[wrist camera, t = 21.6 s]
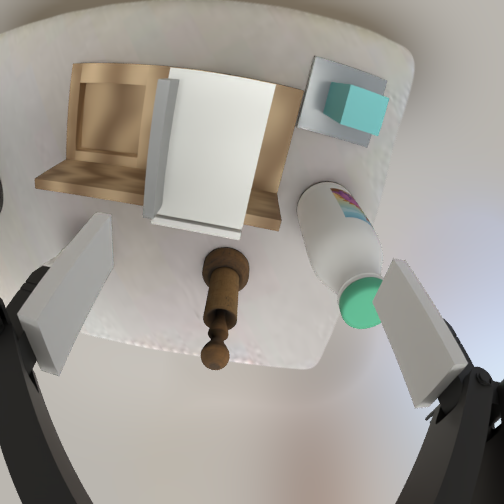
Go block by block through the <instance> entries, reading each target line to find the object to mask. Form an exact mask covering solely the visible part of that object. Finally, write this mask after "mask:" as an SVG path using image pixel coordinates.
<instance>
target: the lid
mask: <svg viewBox="0 0 504 504" xmlns="http://www.w3.org/2000/svg"><path fill="white" fill-rule="evenodd" d="M275 87H276V84H271V83H267V82H262V81H257V80H252V79H247V78H242V77H237V76H231V75H225V74H219V73H212V72H205V71H198V70H190V69H182V68H172V67H170V72H169V77H168V78H166V79H158V83H157V89H156V95H155V102H154V109H153V116H152V123H151V131H150V139H149V148H148V157H147V167H146V178H145V191H144V205H143V217H144V218H150V219H151V224H155V225H161V226H166V227H171V228H177V229H182V230H187V231H193V232H198V233H203V234H209V235H214V236H219V237H225V238H230V239H235V240H240V236H241V230H242V227H243V223H244V219H245V214H246V210H247V205H248V201H249V197H250V192H251V188H252V184H253V179H254V175H255V171H256V167H257V162H258V158H259V154H260V149H261V145H262V141H263V137H264V133H265V128H266V124H267V120H268V116H269V112H270V108H271V103H272V99H273V95H274V91H275Z"/></svg>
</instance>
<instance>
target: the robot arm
mask: <svg viewBox="0 0 504 504" xmlns="http://www.w3.org/2000/svg"><path fill="white" fill-rule="evenodd" d="M1 208H2V187H1V182H0V212H1ZM113 267H114V260H113V243H112V217H111V214H106V213H98V212H96V213H95V214H94V215H93V216H92V217H91V219H90V220H89V221H88V222H87V223H86V224H85V225H84V227H83V228H82V229H81V230H80V231H79V232H78V234H77V235H76V236H75V237H74V238H73V240H72V241H71V242H70V243H69V245H68V246H67V247H66V248H65V249H64V251H63V252H62V253H61V254H60V256H59V257H58V258H57V260H56V261H55V262H54V263H53V265H52V266H51V267H47V266H41V267H40V268H38V269H37V270H35V271H34V272H32V274H31V275H30V276H29V278H28V279H27V280H26V283H24V284H23V285H22V287H21V288H20V290H19V291H18V292H17V293H16V295H15V296H14V298H13V299H12V300H11V302H10V303H9V304H8V306H7V307H6V308H5V305H4V303H3V300H2V299H1V298H0V446H1V449H2V453H3V455H4V459H5V461H6V464H7V466H8V470H9V473H10V475H11V478H12V480H13V483H14V485H15V488H16V490H17V493H18V495H19V497H20V499H21V502H22V504H93V503H92V501H91V499H90V497H89V496H88V494H87V492H86V491H85V489H84V487H83V485H82V484H81V482H80V480H79V478H78V476H77V474H76V472H75V470H74V468H73V467H72V464H71V462H70V460H69V458H68V456H67V454H66V452H65V450H64V448H63V446H62V444H61V441H60V439H59V437H58V435H57V432H56V430H55V427H54V425H53V423H52V420H51V418H50V415H49V413H48V410H47V407H46V405H45V402H44V399H43V396H42V394H41V391H40V388H39V385H38V382H37V379H36V375H35V373H34V371H33V367H34V365H35V363H36V361H37V362H38V364H39V367H40V369H41V370H42V371H45V372H48V373H50V374H54V375H57V376H59V375H60V373H61V371H62V369H63V366H64V364H65V362H66V360H67V357H68V355H69V353H70V351H71V348H72V346H73V344H74V342H75V340H76V338H77V336H78V334H79V332H80V330H81V328H82V326H83V324H84V321H85V319H86V317H87V315H88V313H89V312H90V310H91V308H92V306H93V304H94V302H95V300H96V298H97V296H98V294H99V292H100V290H101V289H102V287H103V285H104V283H105V281H106V279H107V277H108V276H109V274H110V272H111V270H112V268H113ZM372 303H373V305H374V307H375V309H376V312H377V314H378V316H379V318H380V321H381V323H382V325H383V328H384V330H385V332H386V334H387V337H388V339H389V342H390V344H391V346H392V349H393V351H394V354H395V356H396V359H397V361H398V364H399V366H400V369H401V372H402V374H403V377H404V379H405V382H406V385H407V387H408V390H409V393H410V395H411V398H412V401H413V404H414V406H415V408H422V407H429V406H430V405H431V404H432V403H433V402H434V401H435V400H436V399H437V398H438V400H439V402H440V404H439V405H438V406H437V407H436V408H435V409H434V410H433V411H432V412H431V413H430V414H429V415H428V416H427V417H426V419H425V420H428V419H429V418H430V417H432V416H433V418H432V420H431V421H430V426H429V429H428V432H427V434H426V437H425V439H424V442H423V445H422V447H421V450H420V452H419V454H418V457H417V459H416V462H415V464H414V466H413V468H412V471H411V473H410V475H409V477H408V479H407V481H406V484H405V486H404V488H403V490H402V492H401V494H400V496H399V498H398V500H397V502H396V504H504V380H503V381H502V382H501V383H499V382H495V381H493V380H492V378H491V376H490V375H489V373H488V372H487V371H486V370H484V369H482V368H480V367H474V365H473V364H472V362H471V360H470V358H469V356H468V354H467V353H466V351H465V349H464V347H463V345H462V344H460V340H459V339H458V337H456V333H455V331H454V330H453V328H452V326H450V324H449V323H448V322H447V321H446V320H445V319H443V318H442V316H441V315H440V313H439V311H438V310H437V308H436V306H435V305H434V304H433V302H432V300H431V298H430V297H429V295H428V294H427V292H426V291H425V289H424V287H423V286H422V284H421V283H420V281H419V280H418V279H417V277H416V275H415V274H414V272H413V271H412V269H411V268H410V266H409V265H408V263H407V262H406V261H405V260H399V259H393V260H392V262H391V264H390V267H389V269H388V271H387V273H386V275H385V277H384V279H383V281H382V283H381V285H380V287H379V289H378V291H377V293H376V295H375V297H374V299H373V301H372ZM500 418H501V424H500V425H499V426H498V427H497V428H495V427H494V423H495V422H497V421H498V420H499V419H500Z"/></svg>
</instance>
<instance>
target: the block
mask: <svg viewBox="0 0 504 504" xmlns="http://www.w3.org/2000/svg"><path fill="white" fill-rule="evenodd" d="M388 101H389V98H387V97H384V96H382V95H379V94H377V93H374V92H371V91H368V90H366V89H363V88H360V87H357V86H354V85H351V84H344V83H336V82H331V85H330V89H329V93H328V96H327V100H326V104H325V108H324V111H323V114H325V115H326V116H328V117H330V118H331V119H333V120H334V121H336V122H338V123H339V124H342V125H345V126H348V127H352V128H355V129H358V130H361V131H364V132H367V133H370V134H373V135H376V136H378V135H379V132H380V128H381V125H382V122H383V118H384V115H385V112H386V108H387V105H388Z"/></svg>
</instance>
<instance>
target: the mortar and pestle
mask: <svg viewBox="0 0 504 504" xmlns="http://www.w3.org/2000/svg"><path fill="white" fill-rule="evenodd" d="M202 275H203V279H204V281H205V283H206V285H207V286H208V287H209V290H208V296H207V301H206V306H205V311H204V316H203V320H204V323H205V324H206V326H208V327H209V328H210V329H209V331H208V336H209V337H210V338H211V341H209V342H208V343H207V344H206V345H205V346H204V347H203V349H202V351H201V360H202V362H203V364H204V365H205V366H206V367H207V368H209V369H212V370H220V369H222V368H224V367H225V366H226V365H227V363H228V361H229V351H228V349H227V347H226V345H225V344H224V340H226V339H227V338H228V330H229V329H231V328H233V327H234V326H235V325H236V323H237V307H238V291H240V290H241V289H243V288H244V287H245V285H246V284H247V282H248V278H249V264H248V261H247V259H246V258H245V256H244V255H243V254H242V253H240V252H239V251H237V250H235V249H232V248H218V249H215V250H213V251H212V252H210V253H209V254H208V255H207V257H206V259H205V261H204V266H203V271H202Z"/></svg>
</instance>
